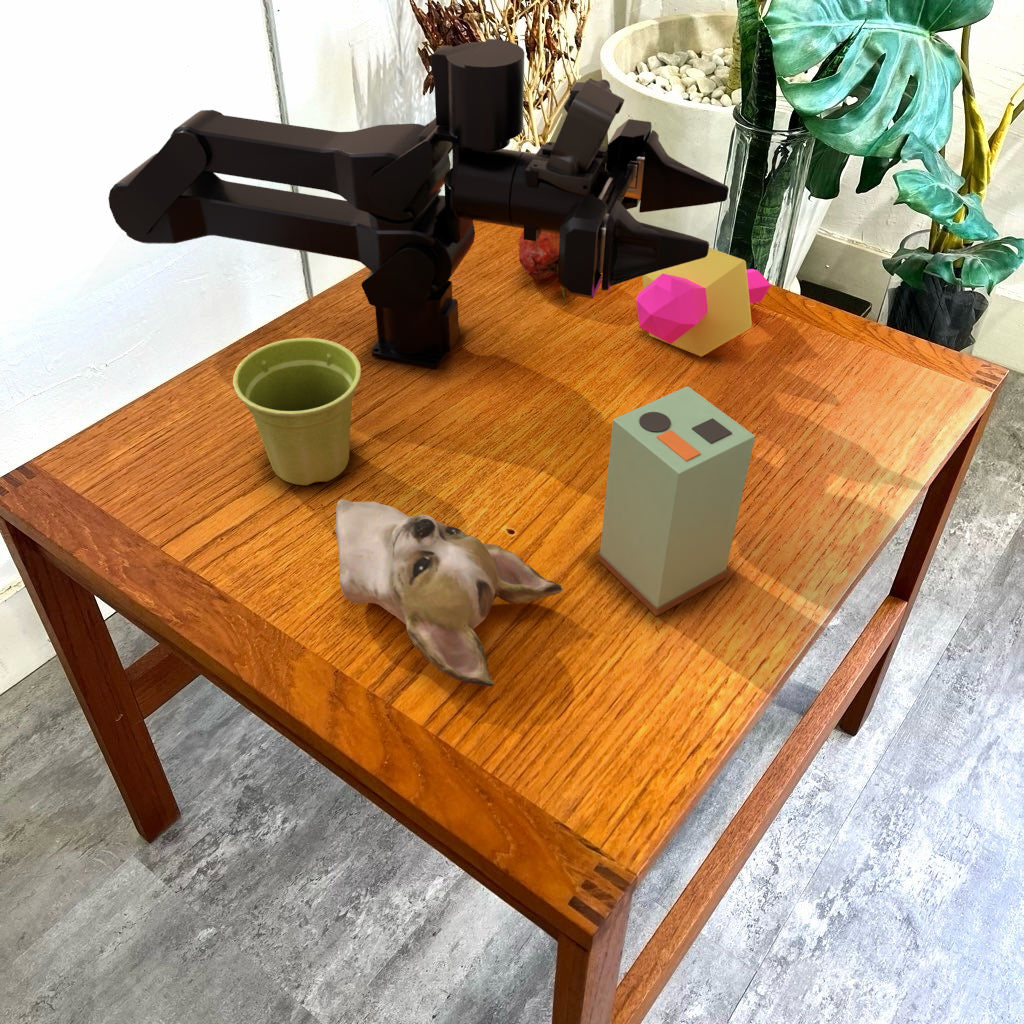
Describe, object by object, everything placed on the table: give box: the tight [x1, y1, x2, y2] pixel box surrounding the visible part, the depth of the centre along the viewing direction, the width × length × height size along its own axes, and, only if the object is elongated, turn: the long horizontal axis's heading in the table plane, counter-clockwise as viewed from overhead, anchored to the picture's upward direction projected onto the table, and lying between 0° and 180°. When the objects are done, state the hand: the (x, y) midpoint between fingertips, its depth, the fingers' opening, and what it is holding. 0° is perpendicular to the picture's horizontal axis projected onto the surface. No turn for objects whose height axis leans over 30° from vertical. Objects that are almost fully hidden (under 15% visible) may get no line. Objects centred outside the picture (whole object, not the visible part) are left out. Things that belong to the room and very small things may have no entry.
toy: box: [635, 247, 772, 358], centre depth 93 cm, size 10×18×10 cm, turn 143°
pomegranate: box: [518, 229, 566, 300], centre depth 101 cm, size 7×7×10 cm
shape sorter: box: [597, 385, 756, 617], centre depth 70 cm, size 7×7×13 cm
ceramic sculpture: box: [335, 498, 564, 687], centre depth 68 cm, size 11×9×15 cm
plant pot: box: [232, 337, 362, 486], centre depth 79 cm, size 9×9×9 cm
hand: (718, 220), depth 78 cm, fingers open, 9 cm apart
